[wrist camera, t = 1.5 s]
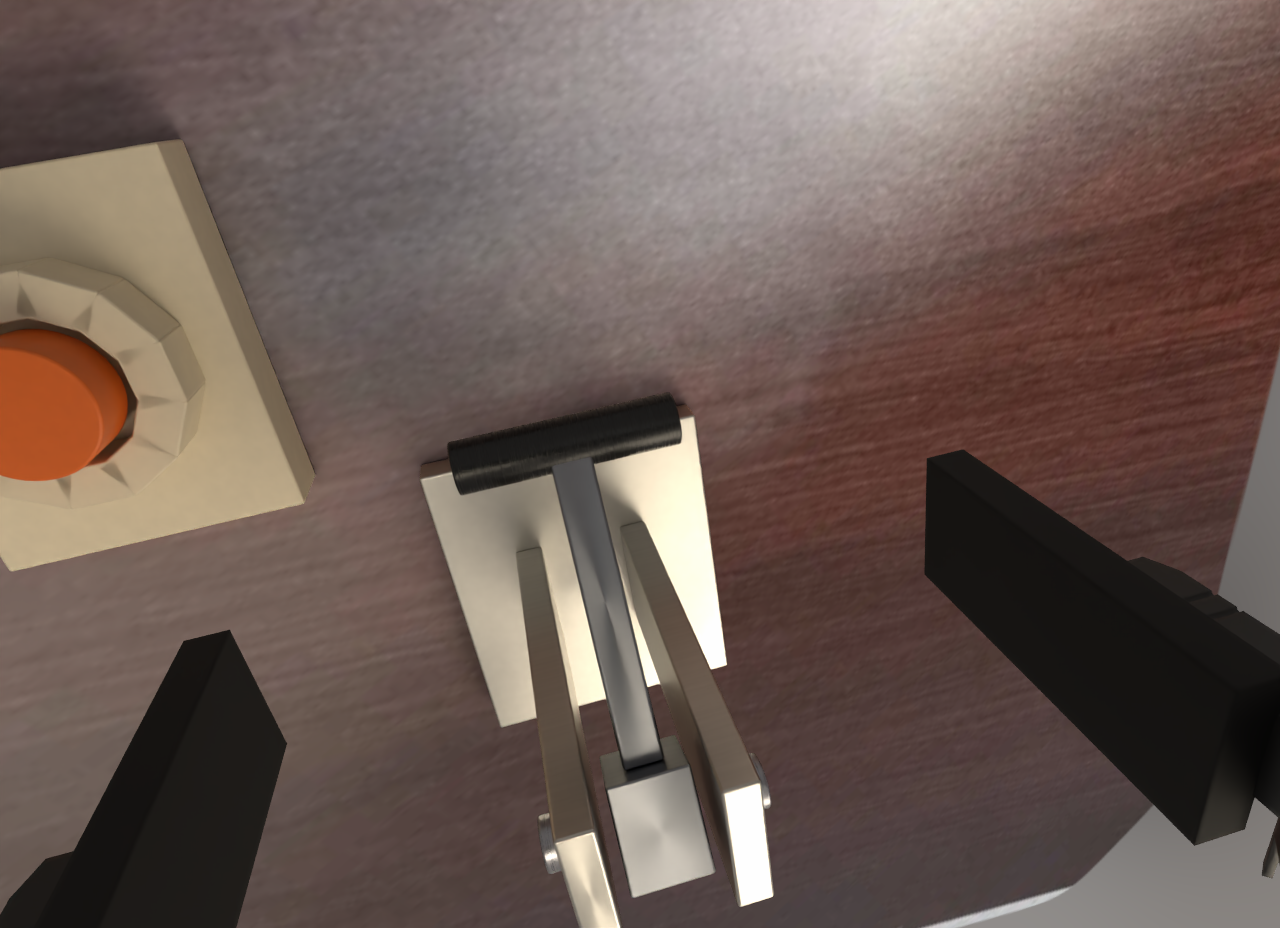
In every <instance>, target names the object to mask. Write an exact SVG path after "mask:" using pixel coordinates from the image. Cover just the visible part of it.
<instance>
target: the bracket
mask: <svg viewBox="0 0 1280 928" xmlns="http://www.w3.org/2000/svg"><path fill="white" fill-rule="evenodd" d="M677 409H678V413H679V417H680V422H681V428H682V442H681V443H680V444H678V445H674V446H670V447H666V448H662V449H657V450H653V451H649V452H645V453H640V454H636V455H632V456H628V457H624V458H619V459H615V460H611V461H607V462H602V463H598V464H594V466H595V470H596V475H597V479H598V483H599V487H600V491H601V496H602V500H603V504H604V508H605V512H606V516H607V521H608V525H609V529H610V533H611V537H612V541H613V546H614V550H615V554H616V558H617V562H618V566H619V571H620V575H621V579H622V583H623V587H624V591H625V596H626V600H627V604H628V608H629V612H630V616H631V621H632V625H633V629H634V633H635V637H636V642H637V646H638V650H639V654H640V658H641V662H642V667H643V671H644V675H645V679H646V683H647V687H650V686H654V685H658V684H660V685H661V687H662V690H663V693H664V696H665V699H666V702H667V705H668V707H669V710H670V713H671V716H672V719H673V722H674V725H675V727H676V730H677V733H678V736H679V739H680V742H681V745H682V747H683V750H684V753H685V756H686V757H687V759H688V761H689V763H690V765H691V769H692V773H693V777H694V781H695V784H696V787H697V790H698V793H699V796H700V799H701V802H702V804H703V807H704V810H705V813H706V816H707V819H708V822H709V824H710V827H711V830H712V833H713V836H714V839H715V842H716V844H717V847H718V850H719V853H720V856H721V859H722V861H723V864H724V867H725V870H726V873H727V876H728V879H729V881H730V884H731V887H732V890H733V893H734V896H735V899H736V901H737V904H738V905H739V906H740V907H742V906H745V905H748V904H751V903H755V902H758V901H761V900H764V899H767V898H770V897H772V896H773V895H774V890H773V881H772V872H771V864H770V855H769V846H768V837H767V829H766V820H765V811H764V809H766V808H769V807H770V806H771V796H770V791H769V786H768V783H767V779H766V776H765V773H764V770H763V768H762V765H761V763H760V761H759V759H758V757H757V756H756V755H755V754H754V753H751V754H749V753H748V751H747V749H746V746H745V744H744V742H743V740H742V737H741V735H740V733H739V731H738V728H737V726H736V724H735V722H734V720H733V717H732V715H731V713H730V711H729V708H728V706H727V704H726V702H725V700H724V697H723V695H722V693H721V691H720V688H719V686H718V684H717V682H716V679H715V677H714V675H713V673H712V671H711V670H712V669H715V668H719V667H723V666H726V665H727V657H726V649H725V642H724V634H723V626H722V619H721V611H720V603H719V596H718V588H717V580H716V573H715V565H714V557H713V550H712V542H711V534H710V527H709V519H708V512H707V504H706V496H705V489H704V481H703V473H702V466H701V458H700V450H699V443H698V435H697V427H696V420H695V415H694V414H693V413H692V411H691V410H690V409H689V407H688V406H687V405H680V406H677ZM420 483H421V486H422V489H423V493H424V496H425V499H426V502H427V505H428V508H429V511H430V514H431V517H432V520H433V523H434V526H435V529H436V532H437V535H438V538H439V542H440V545H441V548H442V551H443V554H444V557H445V560H446V563H447V566H448V569H449V572H450V575H451V578H452V581H453V584H454V587H455V591H456V594H457V597H458V600H459V603H460V606H461V609H462V612H463V615H464V618H465V621H466V624H467V627H468V630H469V633H470V636H471V640H472V643H473V646H474V649H475V652H476V655H477V658H478V661H479V664H480V667H481V670H482V673H483V676H484V679H485V682H486V685H487V689H488V692H489V695H490V698H491V701H492V704H493V707H494V710H495V713H496V716H497V719H498V722H499V725H500V727H506V726H509V725H513V724H517V723H520V722H524V721H528V720H531V719H535V718H537V724H538V732H539V739H540V747H541V755H542V762H543V770H544V778H545V786H546V793H547V801H548V809H549V813H546V814H543V815H540V816H538V832H539V839H540V845H541V850H542V854H543V858H544V862H545V866H546V869H547V871H548V873H550V874H552V873H555V872H558V871H562V873H563V877H564V880H565V883H566V886H567V889H568V893H569V896H570V899H571V902H572V905H573V909H574V912H575V915H576V918H577V921H578V925H579V928H623V926H622V921H621V916H620V911H619V906H618V901H617V896H616V891H615V886H614V881H613V876H612V871H611V866H610V861H609V856H608V851H607V846H606V841H605V836H604V831H603V826H602V821H601V817H600V812H599V807H598V802H597V797H596V792H595V787H594V782H593V777H592V772H591V767H590V762H589V757H588V752H587V747H586V742H585V737H584V732H583V727H582V722H581V717H580V712H579V707H578V706H582V705H585V704H589V703H593V702H596V701H600V700H603V699H606V696H605V692H604V688H603V684H602V679H601V675H600V671H599V667H598V663H597V658H596V654H595V650H594V646H593V642H592V638H591V633H590V629H589V625H588V621H587V617H586V612H585V608H584V604H583V600H582V596H581V592H580V587H579V583H578V579H577V575H576V571H575V566H574V562H573V558H572V554H571V550H570V545H569V541H568V537H567V533H566V529H565V525H564V520H563V516H562V512H561V508H560V504H559V499H558V495H557V491H556V487H555V483H554V478H553V474H552V475H548V476H543V477H539V478H535V479H531V480H527V481H522V482H518V483H514V484H510V485H505V486H501V487H497V488H493V489H489V490H484V491H480V492H476V493H472V494H467V495H463V496H462V495H460V494H459V492H458V490H457V488H456V485H455V482H454V478H453V475H452V471H451V467H450V462H449V459H446V460H442V461H438V462H433V463H429V464H424V465H422V466H421V470H420Z"/></svg>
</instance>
